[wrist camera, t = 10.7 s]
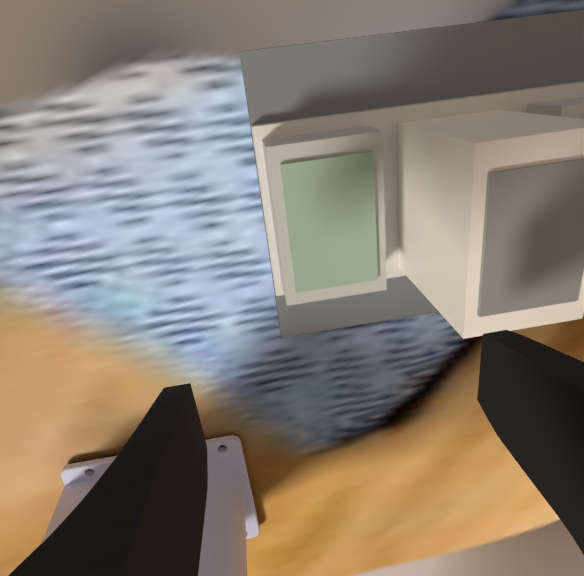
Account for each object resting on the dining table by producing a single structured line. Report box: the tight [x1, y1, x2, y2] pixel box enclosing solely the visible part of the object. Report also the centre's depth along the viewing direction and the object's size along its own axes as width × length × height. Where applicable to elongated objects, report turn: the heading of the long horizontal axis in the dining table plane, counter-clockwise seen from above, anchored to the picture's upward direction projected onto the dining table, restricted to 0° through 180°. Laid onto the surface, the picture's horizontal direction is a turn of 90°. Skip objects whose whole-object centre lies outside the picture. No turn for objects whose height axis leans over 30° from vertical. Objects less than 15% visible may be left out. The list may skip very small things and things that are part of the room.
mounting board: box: [240, 9, 584, 338], centre depth 18 cm, size 15×12×4 cm
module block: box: [397, 110, 584, 339], centre depth 16 cm, size 4×6×6 cm, turn 7°
